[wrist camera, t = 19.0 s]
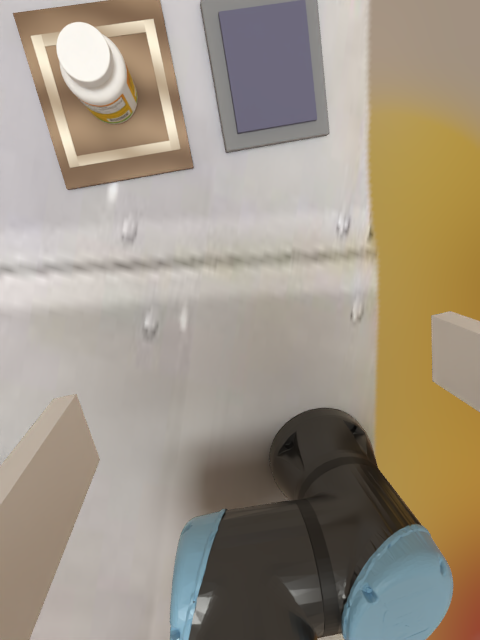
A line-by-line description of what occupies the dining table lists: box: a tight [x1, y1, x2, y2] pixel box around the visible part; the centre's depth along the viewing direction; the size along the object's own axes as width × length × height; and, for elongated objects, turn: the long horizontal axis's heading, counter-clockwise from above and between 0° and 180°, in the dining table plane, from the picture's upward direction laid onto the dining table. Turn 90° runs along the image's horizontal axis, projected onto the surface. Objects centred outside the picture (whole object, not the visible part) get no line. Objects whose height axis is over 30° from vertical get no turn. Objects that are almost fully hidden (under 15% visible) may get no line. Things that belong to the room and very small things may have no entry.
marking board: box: [13, 0, 193, 190], centre depth 36 cm, size 16×14×1 cm
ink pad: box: [200, 0, 329, 153], centre depth 37 cm, size 14×12×2 cm
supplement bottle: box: [56, 22, 137, 124], centre depth 31 cm, size 5×5×10 cm
